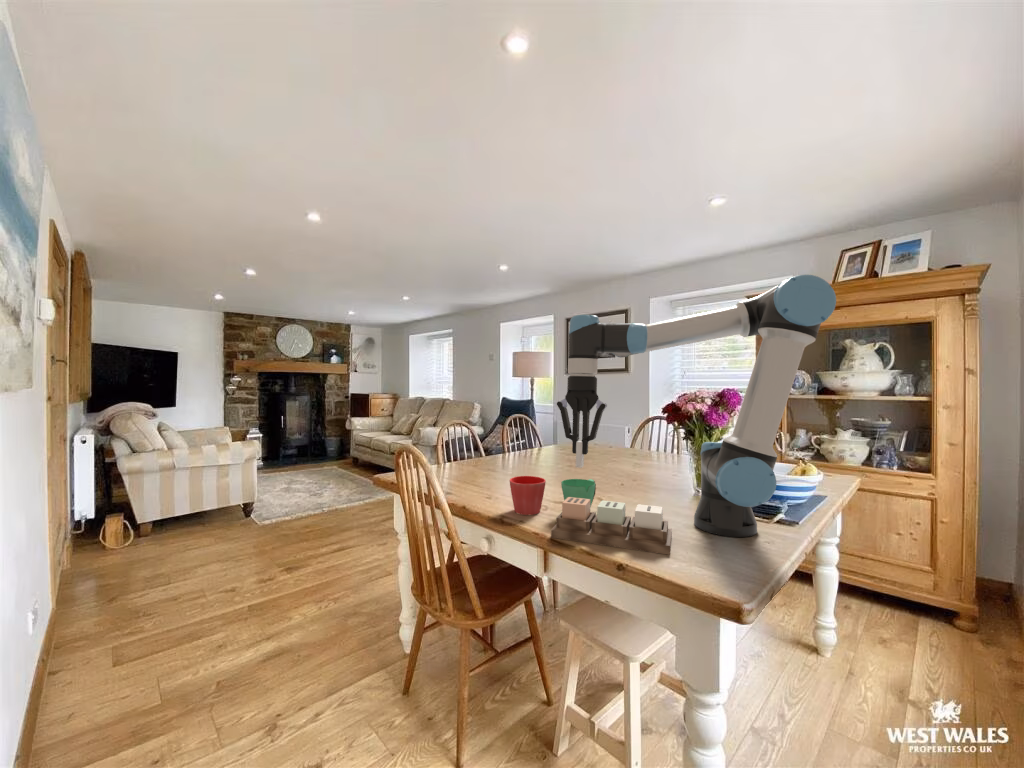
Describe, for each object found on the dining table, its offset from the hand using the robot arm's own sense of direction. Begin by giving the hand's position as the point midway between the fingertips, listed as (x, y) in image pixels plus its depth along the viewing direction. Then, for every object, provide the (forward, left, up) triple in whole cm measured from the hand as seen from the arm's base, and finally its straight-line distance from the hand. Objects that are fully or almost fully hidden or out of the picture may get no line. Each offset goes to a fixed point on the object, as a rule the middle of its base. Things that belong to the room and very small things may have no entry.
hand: (579, 466), depth 109 cm
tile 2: (-8, 0, -13) cm, 15 cm away
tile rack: (-8, 0, -17) cm, 19 cm away
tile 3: (+1, 0, -13) cm, 13 cm away
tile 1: (-17, 0, -13) cm, 22 cm away
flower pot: (+19, -12, -18) cm, 28 cm away
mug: (+3, -15, -18) cm, 23 cm away
